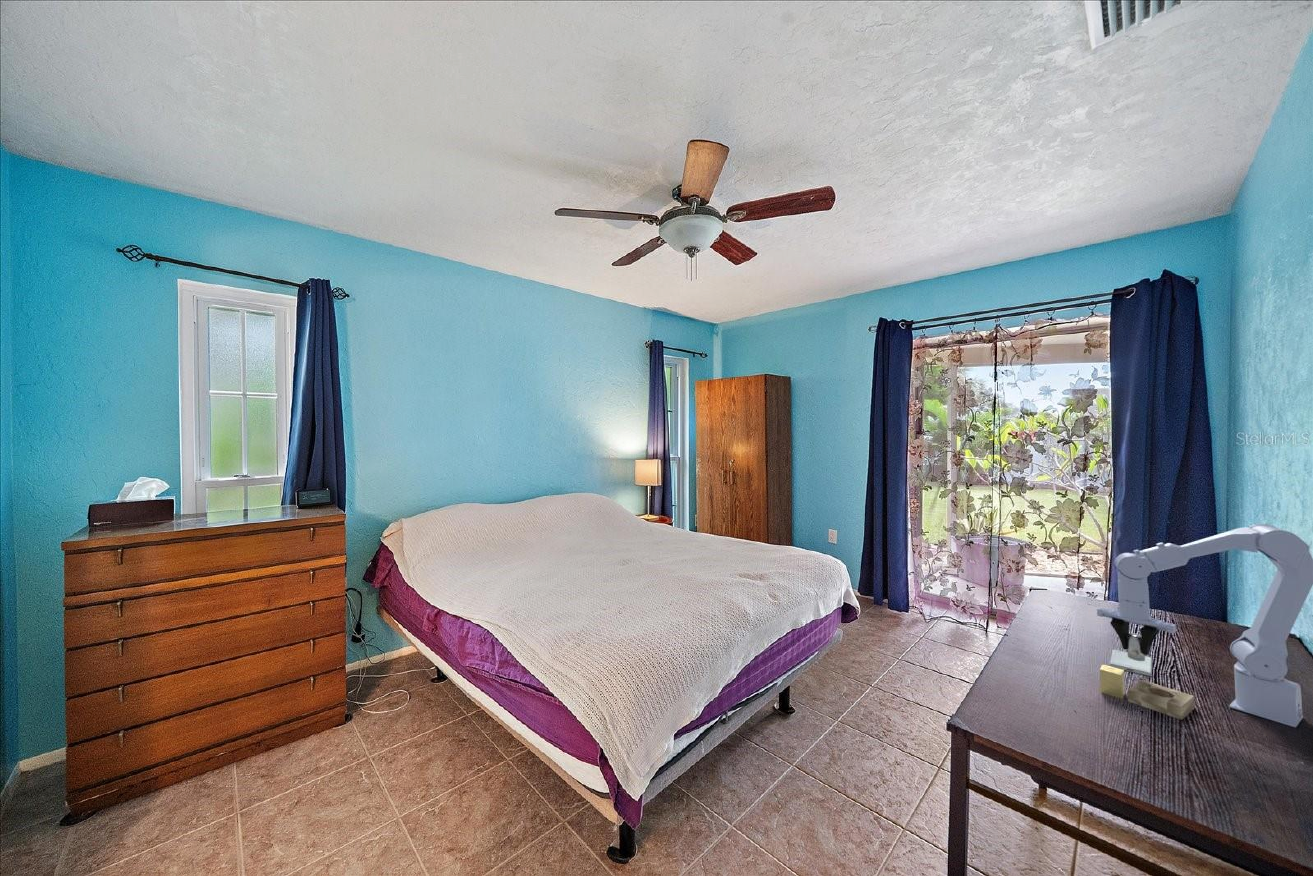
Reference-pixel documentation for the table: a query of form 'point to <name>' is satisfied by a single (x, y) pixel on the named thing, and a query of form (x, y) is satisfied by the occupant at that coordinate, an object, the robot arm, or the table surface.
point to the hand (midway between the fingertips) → (1136, 651)
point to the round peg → (1135, 647)
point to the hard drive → (1131, 663)
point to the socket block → (1161, 699)
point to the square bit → (1112, 681)
